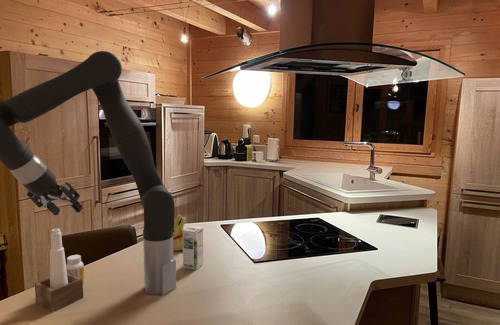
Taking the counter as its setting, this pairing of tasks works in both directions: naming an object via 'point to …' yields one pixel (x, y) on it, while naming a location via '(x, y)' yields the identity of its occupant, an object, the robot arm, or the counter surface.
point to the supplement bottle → (75, 266)
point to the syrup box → (192, 247)
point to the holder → (59, 293)
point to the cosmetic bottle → (57, 261)
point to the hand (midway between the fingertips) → (68, 211)
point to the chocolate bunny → (178, 233)
